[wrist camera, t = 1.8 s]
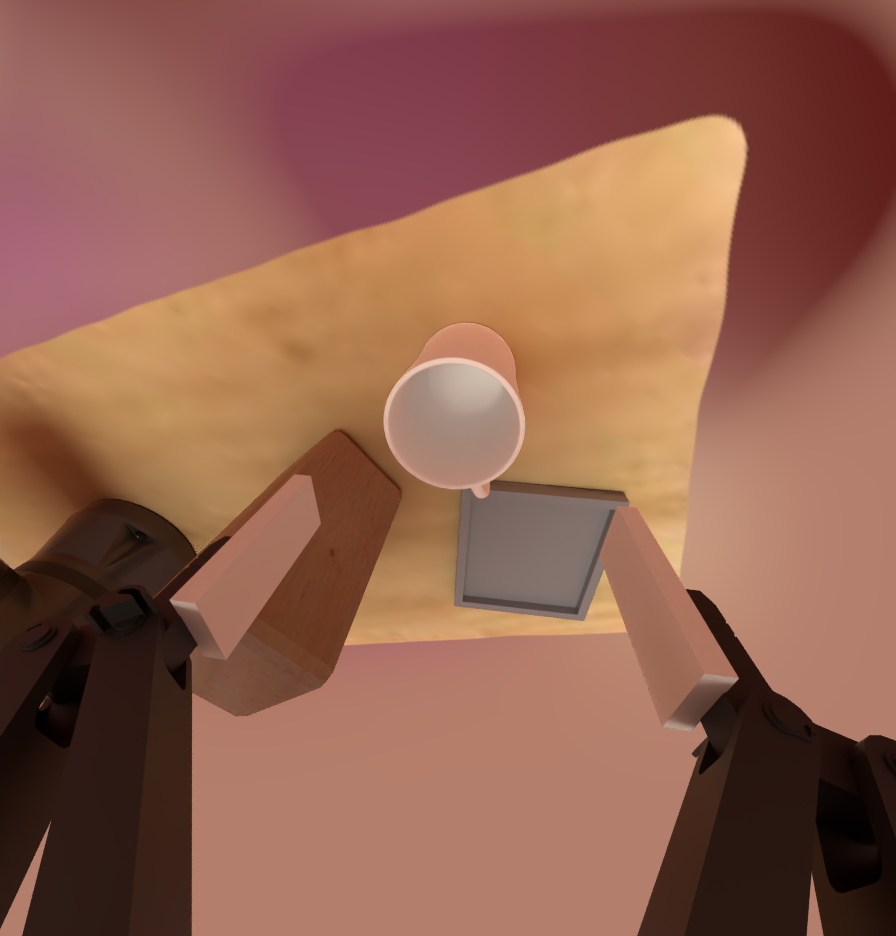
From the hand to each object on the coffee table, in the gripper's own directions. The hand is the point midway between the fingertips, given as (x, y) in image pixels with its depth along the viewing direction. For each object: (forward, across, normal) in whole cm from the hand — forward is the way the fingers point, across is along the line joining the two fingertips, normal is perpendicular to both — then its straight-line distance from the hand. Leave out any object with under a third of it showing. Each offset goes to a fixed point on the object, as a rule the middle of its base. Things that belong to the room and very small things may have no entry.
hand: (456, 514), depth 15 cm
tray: (+18, +7, -18) cm, 26 cm away
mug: (+18, -1, 0) cm, 18 cm away
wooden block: (+18, -14, -11) cm, 25 cm away
